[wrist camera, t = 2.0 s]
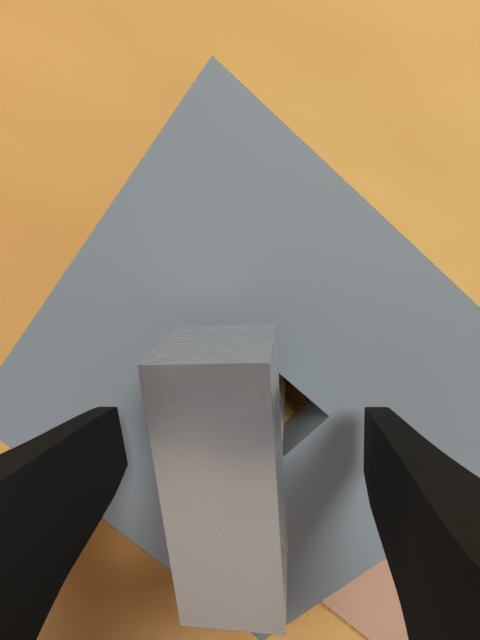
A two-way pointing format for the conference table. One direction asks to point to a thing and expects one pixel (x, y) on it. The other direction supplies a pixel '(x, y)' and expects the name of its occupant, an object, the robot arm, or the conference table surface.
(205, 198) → the cover plate
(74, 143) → the conference table surface
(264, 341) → the t key
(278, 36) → the conference table surface
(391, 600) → the tile
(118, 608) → the conference table surface
